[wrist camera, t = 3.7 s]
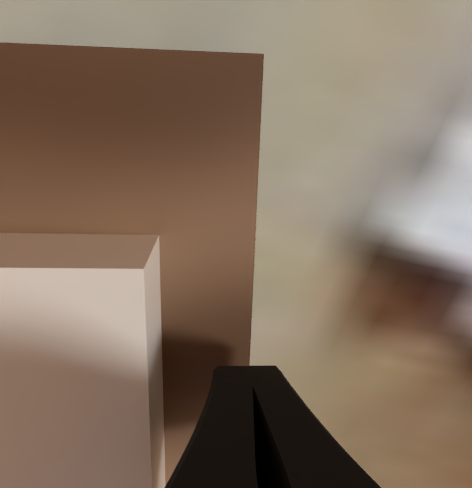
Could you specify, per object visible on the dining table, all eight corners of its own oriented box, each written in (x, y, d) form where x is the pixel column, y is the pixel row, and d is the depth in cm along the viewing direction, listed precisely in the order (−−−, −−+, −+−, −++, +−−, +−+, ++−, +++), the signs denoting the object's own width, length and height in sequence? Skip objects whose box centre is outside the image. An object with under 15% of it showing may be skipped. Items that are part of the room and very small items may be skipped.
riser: (231, 473, 15) (238, 589, 12) (-15, 479, 15) (-93, 605, 11) (245, 76, 11) (263, 53, 7) (-94, 62, 11) (-262, 31, 7)
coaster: (165, 497, 10) (155, 581, 9) (-80, 504, 10) (-148, 594, 8) (159, 234, 8) (143, 269, 6) (-150, 230, 8) (-262, 266, 6)
